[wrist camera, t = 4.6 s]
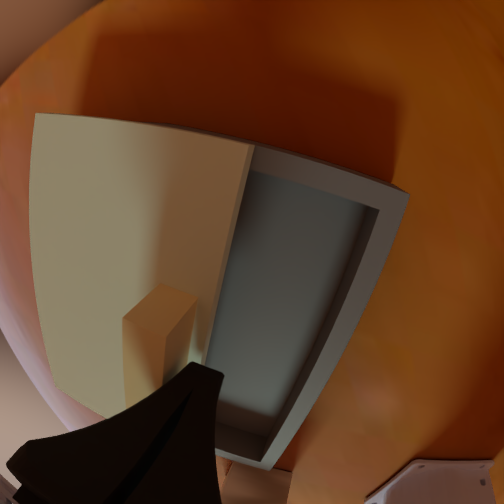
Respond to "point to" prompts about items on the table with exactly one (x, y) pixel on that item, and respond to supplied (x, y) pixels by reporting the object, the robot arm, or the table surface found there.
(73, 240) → the lid
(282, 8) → the table surface
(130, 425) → the robot arm
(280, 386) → the grey storage tray
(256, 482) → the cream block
